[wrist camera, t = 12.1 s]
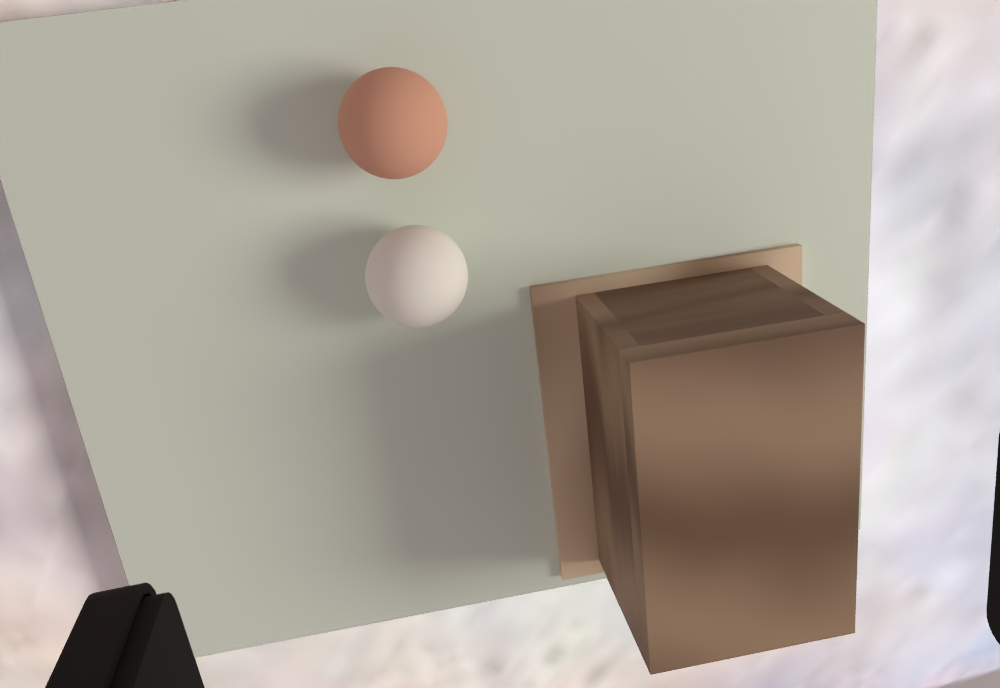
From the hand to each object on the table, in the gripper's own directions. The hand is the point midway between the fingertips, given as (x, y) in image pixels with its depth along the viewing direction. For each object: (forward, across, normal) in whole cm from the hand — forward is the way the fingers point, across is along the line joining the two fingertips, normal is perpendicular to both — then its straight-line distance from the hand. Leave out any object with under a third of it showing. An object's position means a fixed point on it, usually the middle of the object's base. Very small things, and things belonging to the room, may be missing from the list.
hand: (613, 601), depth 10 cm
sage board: (+20, -1, +3) cm, 20 cm away
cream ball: (+19, +1, +1) cm, 19 cm away
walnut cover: (+18, -7, +8) cm, 21 cm away
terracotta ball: (+19, +1, -4) cm, 19 cm away
